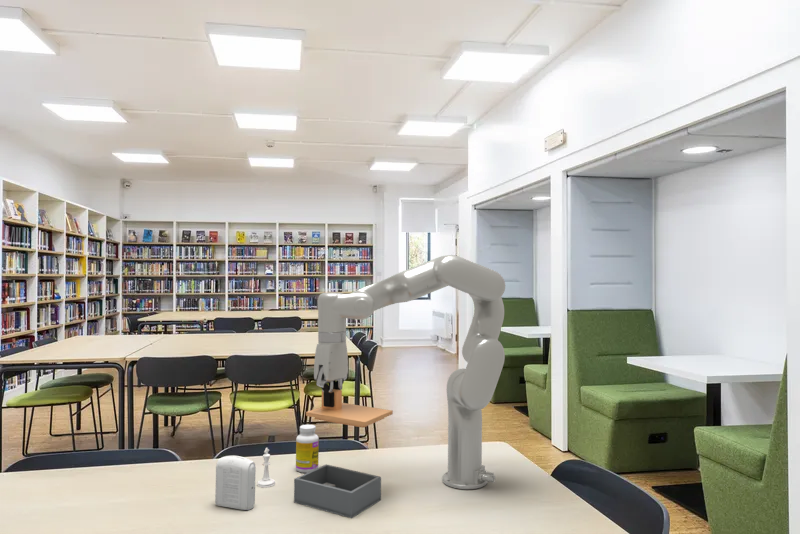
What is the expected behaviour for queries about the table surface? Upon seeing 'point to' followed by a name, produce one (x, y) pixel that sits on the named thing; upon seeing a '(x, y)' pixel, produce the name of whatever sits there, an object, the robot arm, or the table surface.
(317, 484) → the tub
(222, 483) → the photo printer
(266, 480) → the chess piece
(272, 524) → the table surface
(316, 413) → the lid
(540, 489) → the table surface
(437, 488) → the table surface
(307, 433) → the supplement bottle
